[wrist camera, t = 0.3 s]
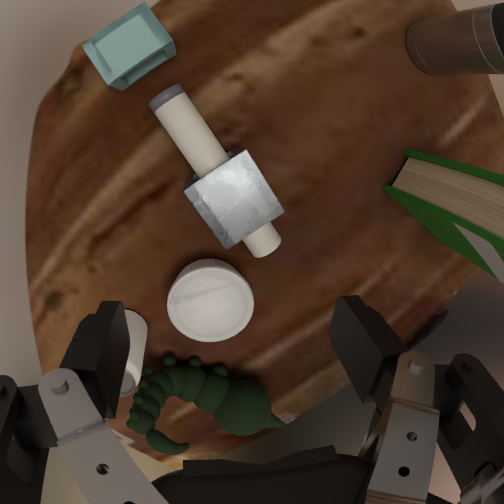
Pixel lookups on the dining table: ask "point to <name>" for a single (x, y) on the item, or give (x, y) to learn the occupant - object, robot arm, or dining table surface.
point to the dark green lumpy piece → (199, 401)
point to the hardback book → (456, 206)
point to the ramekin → (210, 301)
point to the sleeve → (233, 198)
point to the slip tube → (203, 151)
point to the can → (134, 352)
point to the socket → (130, 47)
